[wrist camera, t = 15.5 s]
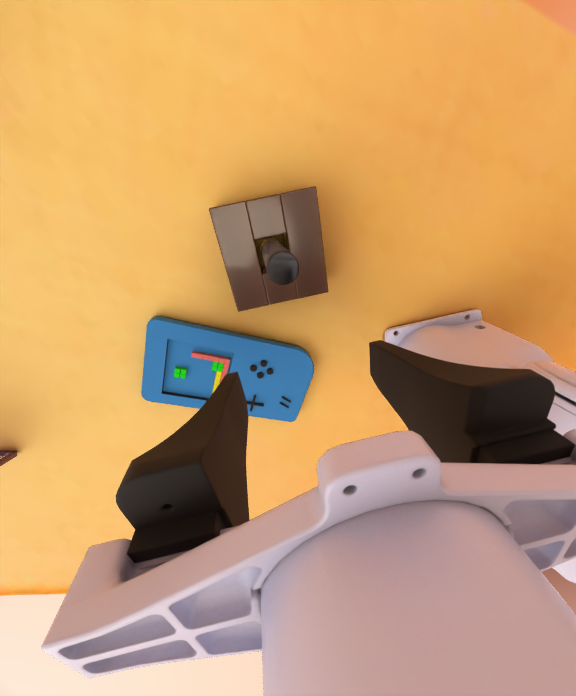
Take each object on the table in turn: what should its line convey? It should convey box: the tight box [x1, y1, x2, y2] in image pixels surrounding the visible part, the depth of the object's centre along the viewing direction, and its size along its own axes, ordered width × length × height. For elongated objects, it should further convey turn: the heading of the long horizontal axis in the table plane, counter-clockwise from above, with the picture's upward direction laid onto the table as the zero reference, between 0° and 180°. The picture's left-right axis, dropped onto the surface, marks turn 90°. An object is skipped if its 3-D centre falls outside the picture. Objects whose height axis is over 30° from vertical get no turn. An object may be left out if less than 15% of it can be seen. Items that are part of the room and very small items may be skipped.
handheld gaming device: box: [141, 316, 314, 422], centre depth 25 cm, size 8×1×15 cm
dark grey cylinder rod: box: [261, 238, 300, 285], centre depth 17 cm, size 2×2×9 cm
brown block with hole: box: [209, 187, 328, 311], centre depth 20 cm, size 7×7×3 cm
